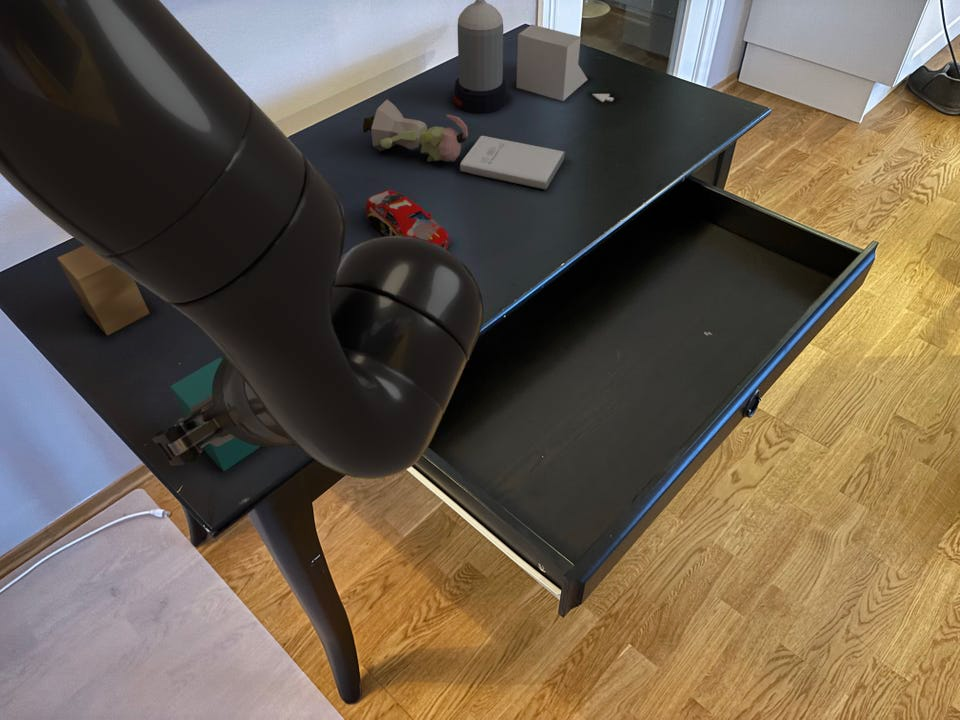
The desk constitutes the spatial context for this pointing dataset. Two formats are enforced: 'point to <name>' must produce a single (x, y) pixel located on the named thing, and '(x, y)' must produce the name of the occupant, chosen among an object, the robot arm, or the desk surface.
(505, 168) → the hard drive
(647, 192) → the desk surface
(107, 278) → the block left
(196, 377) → the teal block
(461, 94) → the humidifier
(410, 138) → the figurine
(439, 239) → the race car
